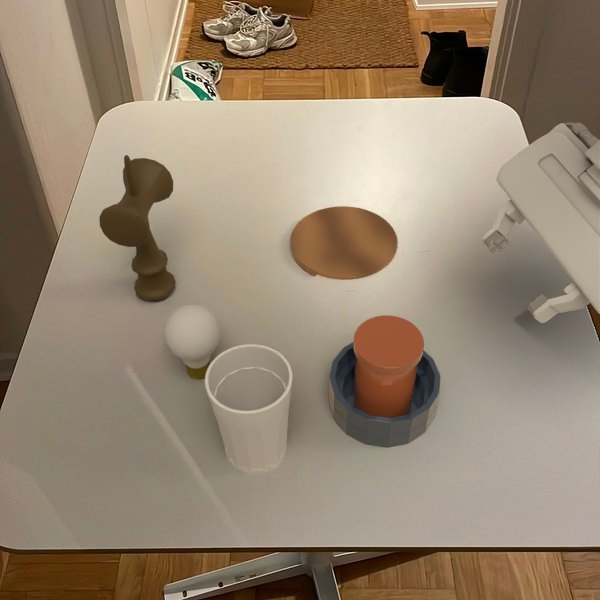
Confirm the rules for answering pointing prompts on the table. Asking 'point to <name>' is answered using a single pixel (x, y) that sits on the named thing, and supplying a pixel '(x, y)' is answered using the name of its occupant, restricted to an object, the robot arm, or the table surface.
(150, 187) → the kendama
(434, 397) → the bowl
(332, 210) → the disc
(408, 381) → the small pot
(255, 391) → the cup
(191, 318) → the light bulb
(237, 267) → the table surface
